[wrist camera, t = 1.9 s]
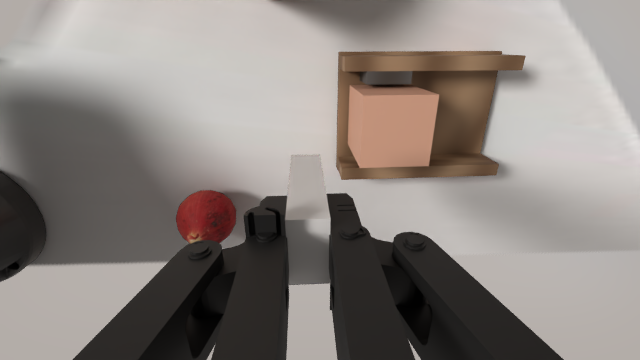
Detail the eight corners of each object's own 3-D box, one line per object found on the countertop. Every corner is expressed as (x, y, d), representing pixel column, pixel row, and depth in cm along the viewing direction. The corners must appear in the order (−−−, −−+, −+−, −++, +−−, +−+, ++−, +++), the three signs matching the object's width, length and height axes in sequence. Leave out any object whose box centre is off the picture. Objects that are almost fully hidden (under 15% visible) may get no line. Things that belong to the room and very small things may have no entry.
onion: (226, 171, 34) (207, 205, 27) (249, 213, 37) (237, 254, 29) (180, 189, 35) (148, 227, 27) (205, 229, 37) (182, 274, 30)
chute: (336, 166, 35) (341, 182, 31) (338, 51, 30) (345, 52, 26) (472, 162, 36) (495, 177, 32) (496, 51, 31) (526, 51, 27)
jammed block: (347, 144, 33) (359, 168, 26) (349, 85, 30) (363, 95, 24) (403, 142, 33) (428, 166, 26) (409, 84, 30) (439, 94, 24)
